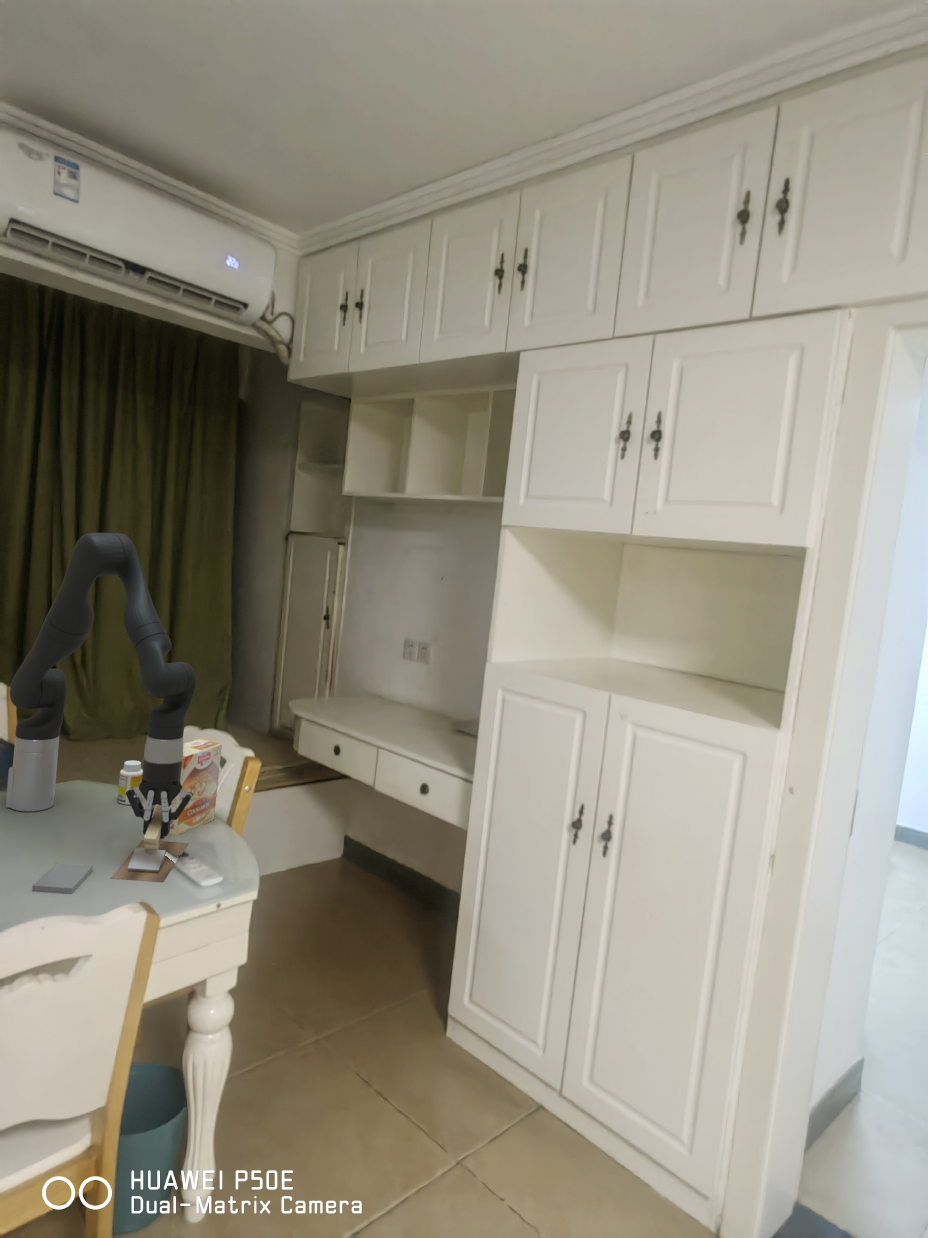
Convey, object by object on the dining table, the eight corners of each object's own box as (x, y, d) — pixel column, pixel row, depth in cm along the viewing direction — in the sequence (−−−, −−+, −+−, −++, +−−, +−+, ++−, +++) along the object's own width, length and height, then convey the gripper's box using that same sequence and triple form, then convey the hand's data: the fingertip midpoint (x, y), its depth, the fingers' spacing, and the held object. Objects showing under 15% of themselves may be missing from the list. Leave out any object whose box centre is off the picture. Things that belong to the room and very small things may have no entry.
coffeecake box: (177, 839, 172) (185, 756, 170) (150, 832, 173) (158, 750, 172) (215, 819, 186) (223, 743, 184) (191, 813, 188) (198, 737, 186)
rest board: (110, 882, 147) (110, 878, 147) (142, 843, 167) (142, 839, 167) (162, 886, 148) (162, 882, 148) (188, 846, 168) (189, 843, 168)
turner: (158, 872, 152) (157, 860, 150) (127, 870, 152) (126, 857, 149) (178, 819, 164) (177, 806, 162) (150, 817, 163) (148, 804, 161)
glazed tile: (55, 874, 149) (31, 897, 139) (55, 863, 149) (32, 885, 139) (91, 877, 150) (71, 900, 140) (92, 865, 149) (72, 888, 139)
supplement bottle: (144, 799, 194) (147, 760, 193) (136, 806, 188) (140, 766, 187) (121, 797, 193) (125, 758, 192) (113, 804, 188) (117, 764, 187)
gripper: (122, 758, 153) (115, 841, 154) (192, 765, 154) (185, 846, 155) (134, 749, 160) (127, 827, 161) (201, 755, 162) (194, 833, 163)
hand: (156, 836), depth 158 cm, fingers closed on turner, 2 cm apart
